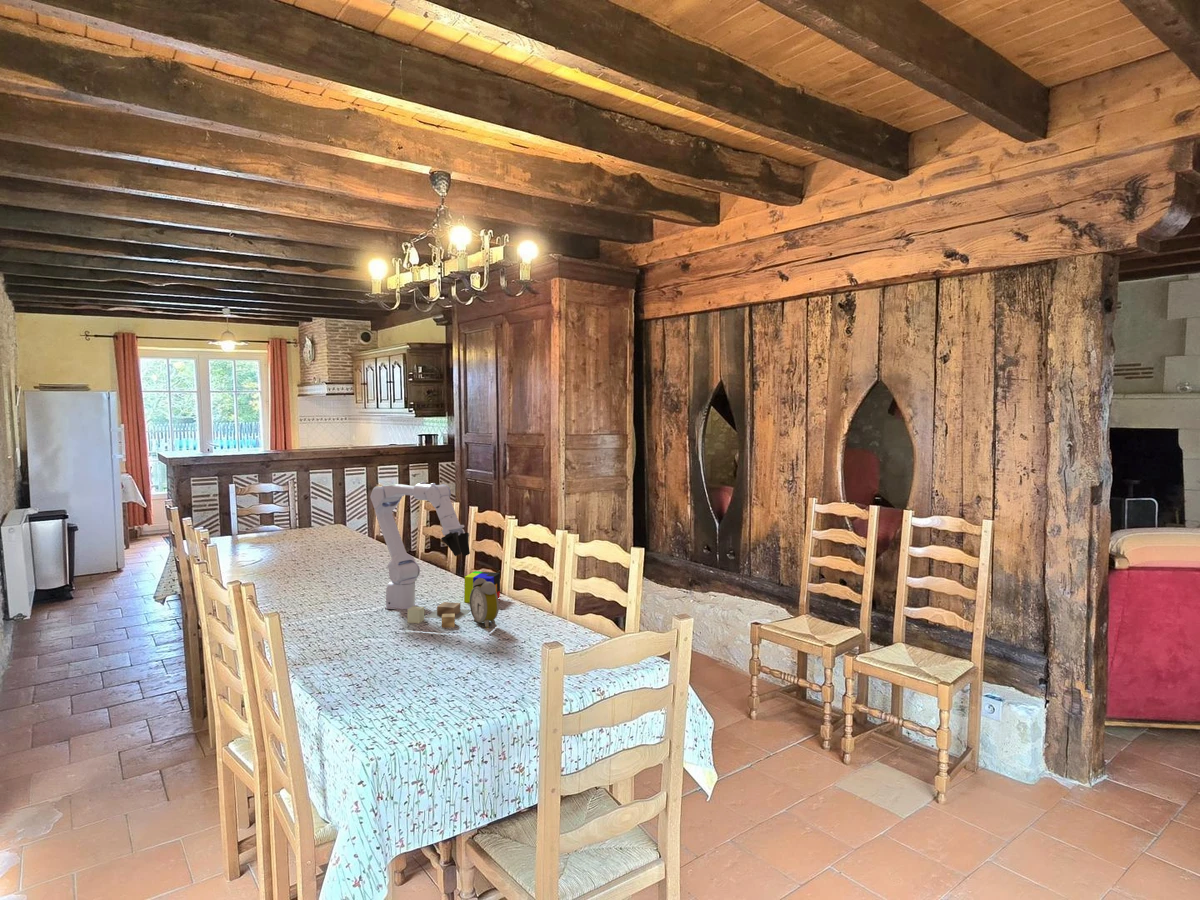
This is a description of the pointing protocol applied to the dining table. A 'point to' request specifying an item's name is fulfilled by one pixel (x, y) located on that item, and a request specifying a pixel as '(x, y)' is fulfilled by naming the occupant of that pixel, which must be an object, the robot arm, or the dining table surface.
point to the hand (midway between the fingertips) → (462, 555)
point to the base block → (448, 608)
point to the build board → (457, 617)
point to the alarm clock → (484, 601)
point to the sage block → (415, 614)
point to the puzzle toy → (487, 576)
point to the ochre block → (448, 620)
